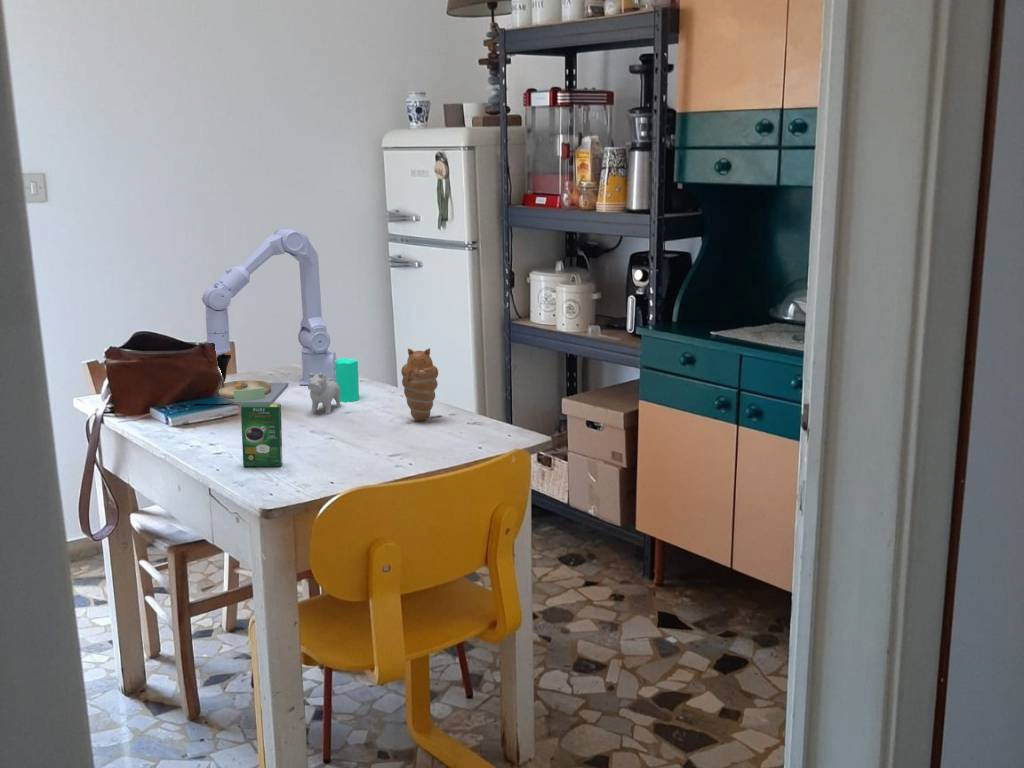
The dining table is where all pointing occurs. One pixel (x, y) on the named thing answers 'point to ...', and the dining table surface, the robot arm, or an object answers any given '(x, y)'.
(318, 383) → the dog figurine
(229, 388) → the dial
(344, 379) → the candle
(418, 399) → the cat ice cream
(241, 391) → the pale green block
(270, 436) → the coffee box
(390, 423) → the dining table surface
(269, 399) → the grey flat square board
